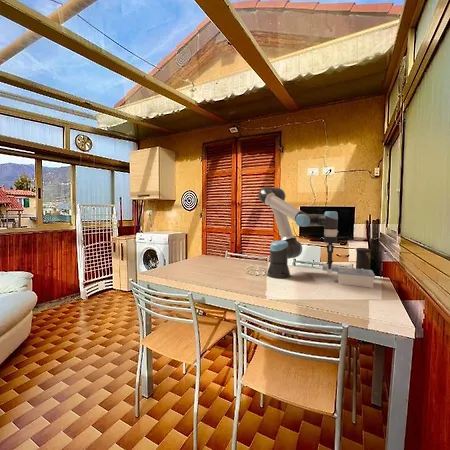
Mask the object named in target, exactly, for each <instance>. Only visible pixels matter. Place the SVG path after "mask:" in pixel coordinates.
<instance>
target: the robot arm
mask: <svg viewBox="0 0 450 450" xmlns="http://www.w3.org/2000/svg"><path fill="white" fill-rule="evenodd" d="M257 195H258V196H257V197H258V199H259V201H260V202H261V203H263V204H265V205H266V206H269V207H268V208H270V209H272V213H273V216H274V218H275V222H276V225H277V229H278V232H279V235H280V238H281V239H280V240H274V241H271V243H270V247H269V251H270V252H269V259H270V260H269V266H268V268H267V271H266V272H267V273H266V276H267V277H269V278H274V279H287V278H290V277H291V272H290V268H289V266H288V261H289V260H288V259H294V258H297V257H299V256H300V255H301V254H302V253H303V246H302V244H301V242H299V240H297V237H296V236H294V235H293V231H292V228H291V225H290V224H291V223H290V221H289V219H291V220H292V221H295V224H296V225H297V227H303V228H305V227H324V228H323V229H324V230H323V231H324V232H323V235H324V237H323V243H326V244H327V245H326V251H327V262H326V264H327V265H326V266H327V271H326V275H332V274H333V271H332V266H333V263H334V260H333V253H334V247H335V245H334V244H337V243H338V233H339V230H338V224H339V223H338V222H339V216H338V215H339V214H338V212H337V211H336V210H335V211H334V210H333V211H332V210H331V211H329V210H328V211H327V210H326V211H325V212H324V213H323V214H319V213H316V214H315V213H311V214H310V213H306V212H304V211H302V210H300V209H299V208H298V207H296V206H294V205H292V204H290V203H288V202H287V201H285V200H286V197H287V195H286V192H285V191H284V189H282V188H280V187H271V186H264V187H262V188H261V189H259V191H258V194H257Z"/></svg>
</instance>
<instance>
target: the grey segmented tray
mask: <svg viewBox="0 0 450 450" xmlns="http://www.w3.org/2000/svg"><path fill="white" fill-rule="evenodd" d="M322 271H324V272H327V265H325V264H324V265H322ZM332 272H334V273H337V275H338V274H348V275H358V276H368V277H374V278H375V277H376V275H375V273H374V271H373V270H372V269H370V270H366V269H363V268H362V269H356V267H352V268H351V267H347V266H343V267H341V266H337V265H335V266H334V265H332Z"/></svg>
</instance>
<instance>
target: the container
mask: <svg viewBox="0 0 450 450" xmlns="http://www.w3.org/2000/svg"><path fill="white" fill-rule="evenodd" d="M355 251H356V261H355V269H362V268H363V269H366V270H371V253H372V249H371V248H367V247H357V248H355Z"/></svg>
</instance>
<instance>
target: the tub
mask: <svg viewBox="0 0 450 450" xmlns="http://www.w3.org/2000/svg"><path fill="white" fill-rule="evenodd" d="M374 279H375V277H368V276H358V275H348V274H338V273H337V282H338V283H337V284H339V285H346V286H355V287H363V288H372V289H373V288H374Z"/></svg>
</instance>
